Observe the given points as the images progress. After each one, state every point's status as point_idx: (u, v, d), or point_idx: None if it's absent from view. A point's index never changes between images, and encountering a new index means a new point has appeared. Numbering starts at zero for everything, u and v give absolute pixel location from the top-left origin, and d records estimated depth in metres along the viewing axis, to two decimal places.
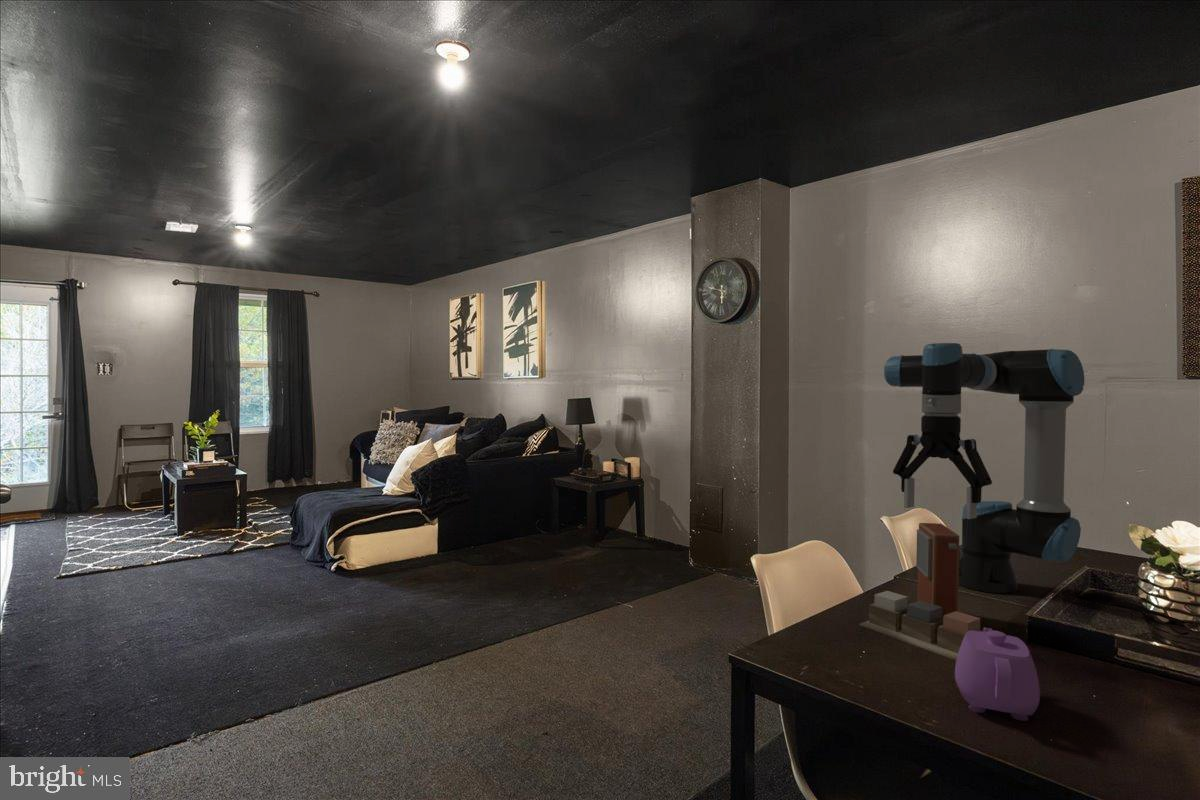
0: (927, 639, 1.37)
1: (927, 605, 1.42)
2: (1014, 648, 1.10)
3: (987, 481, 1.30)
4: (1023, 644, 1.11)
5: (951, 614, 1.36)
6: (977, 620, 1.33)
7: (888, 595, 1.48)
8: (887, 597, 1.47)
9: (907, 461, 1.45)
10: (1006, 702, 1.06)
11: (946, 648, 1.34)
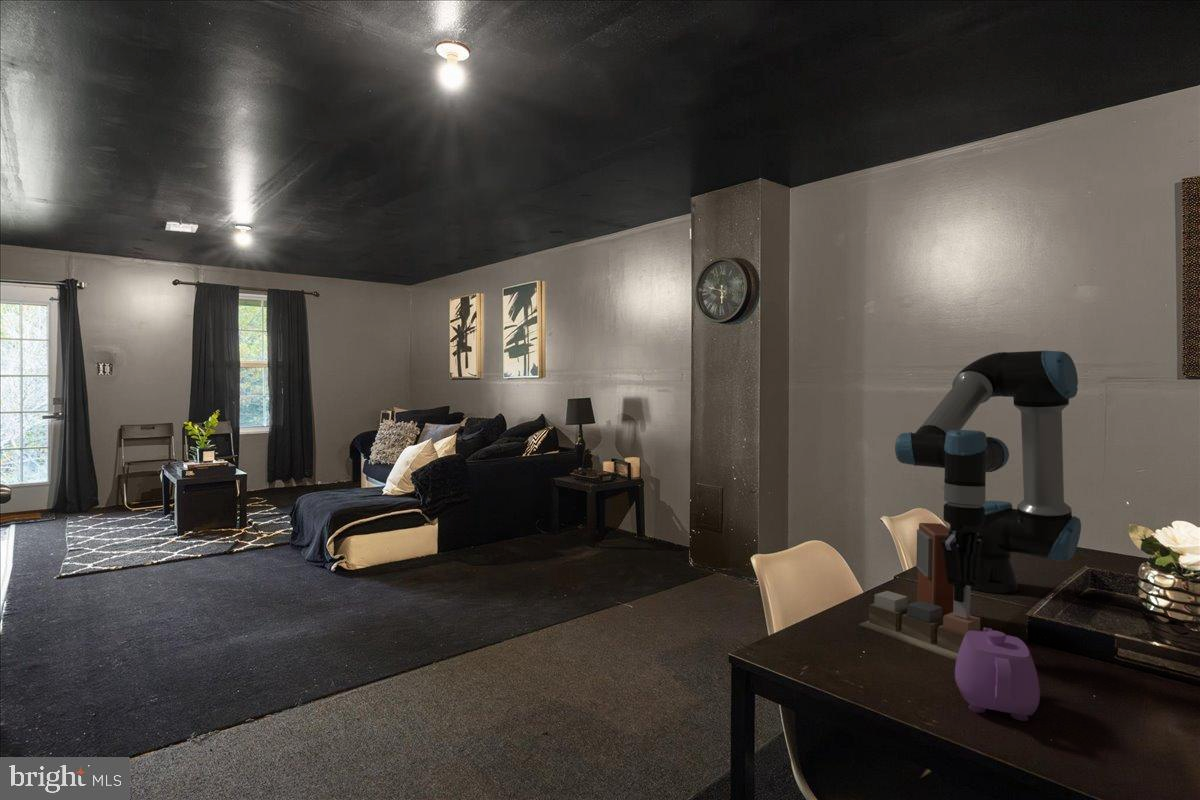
0: (927, 639, 1.37)
1: (927, 605, 1.42)
2: (1014, 648, 1.10)
3: (951, 579, 1.33)
4: (1023, 644, 1.11)
5: (951, 614, 1.36)
6: (977, 620, 1.33)
7: (888, 595, 1.48)
8: (887, 597, 1.47)
9: None
10: (1006, 702, 1.06)
11: (946, 648, 1.34)
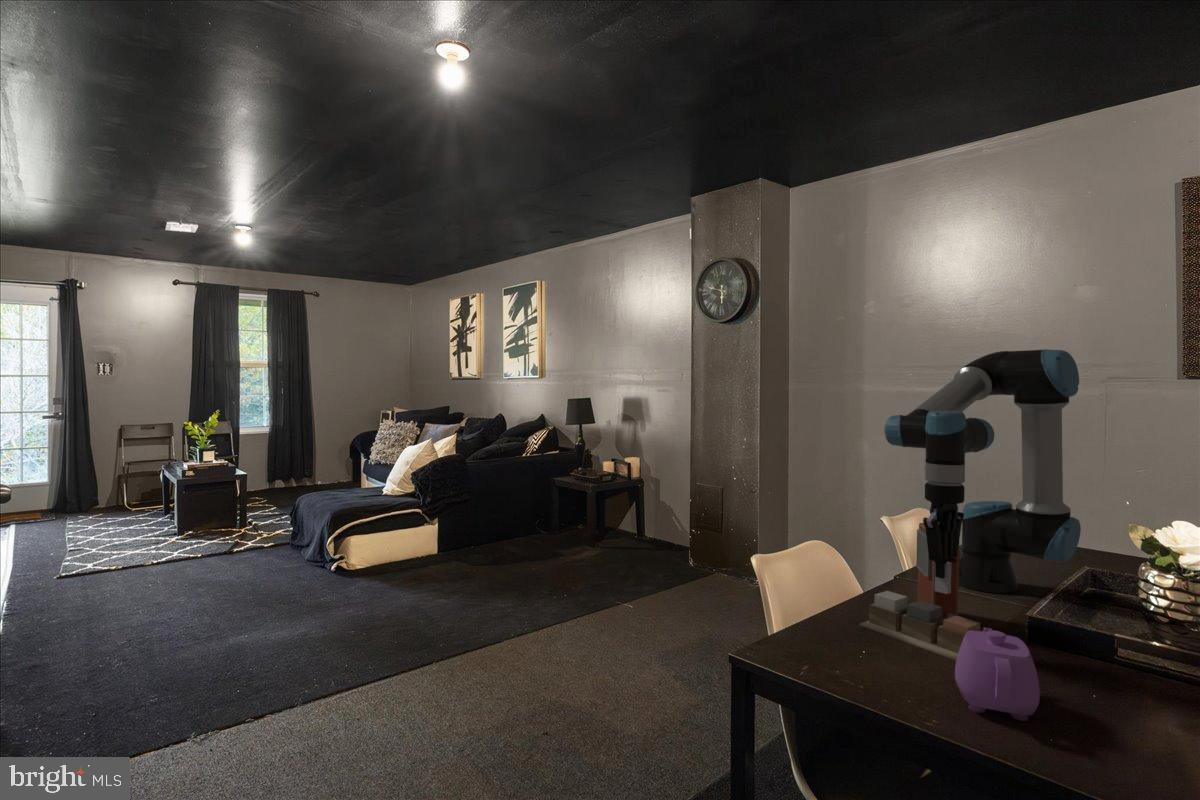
0: (927, 639, 1.37)
1: (927, 605, 1.42)
2: (1014, 648, 1.10)
3: (932, 556, 1.36)
4: (1023, 644, 1.11)
5: (951, 618, 1.36)
6: (977, 625, 1.33)
7: (888, 595, 1.48)
8: (887, 597, 1.47)
9: None
10: (1006, 702, 1.06)
11: (946, 648, 1.34)
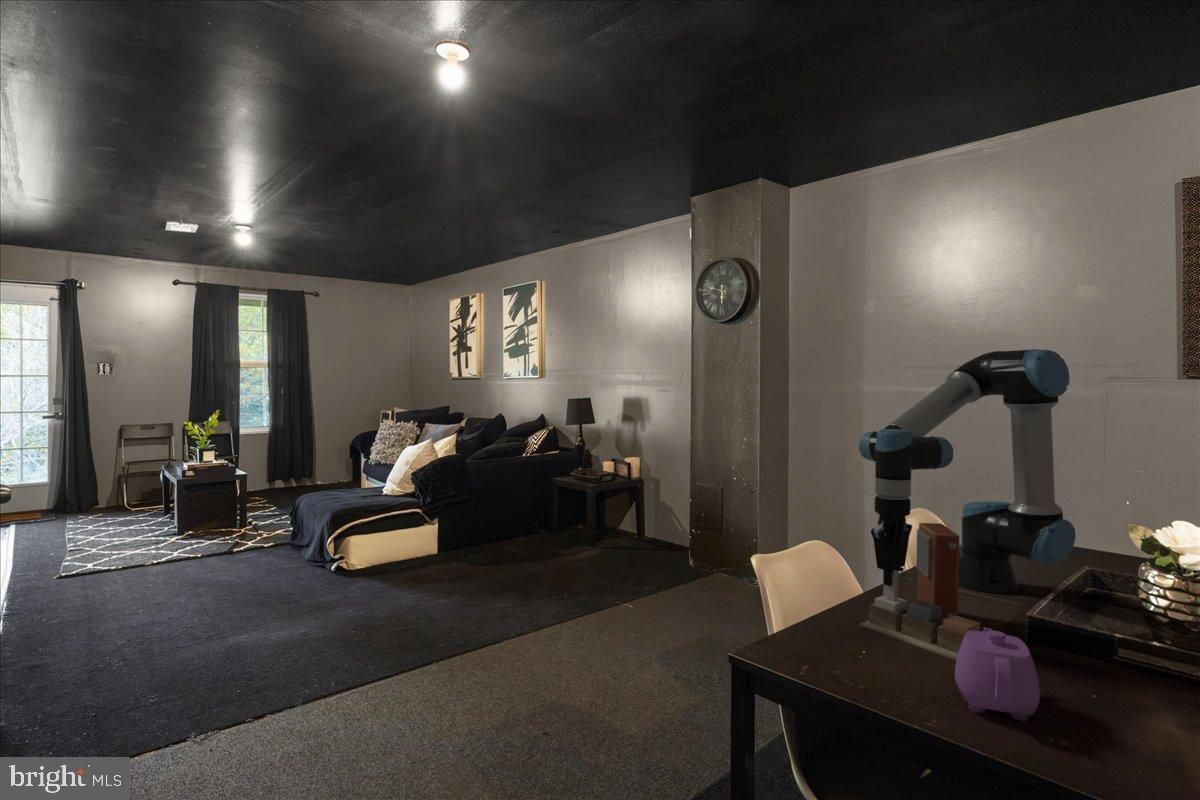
0: (927, 639, 1.37)
1: (927, 605, 1.42)
2: (1014, 648, 1.10)
3: (880, 565, 1.46)
4: (1023, 644, 1.11)
5: (951, 618, 1.36)
6: (977, 625, 1.33)
7: (888, 599, 1.48)
8: (887, 601, 1.47)
9: (900, 549, 1.49)
10: (1006, 702, 1.06)
11: (946, 648, 1.34)
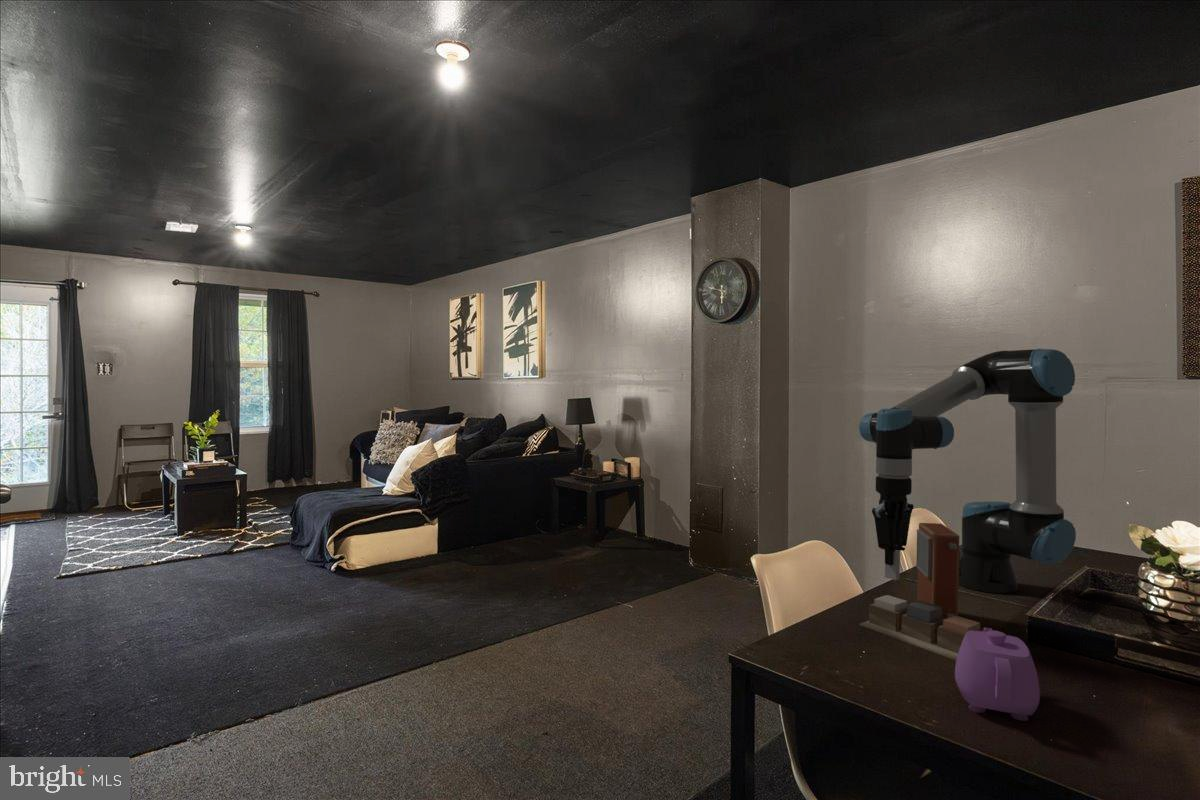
0: (927, 639, 1.37)
1: (927, 605, 1.42)
2: (1014, 648, 1.10)
3: (881, 544, 1.46)
4: (1023, 644, 1.11)
5: (951, 618, 1.36)
6: (977, 625, 1.33)
7: (888, 599, 1.48)
8: (887, 601, 1.47)
9: (902, 529, 1.49)
10: (1006, 702, 1.06)
11: (946, 648, 1.34)
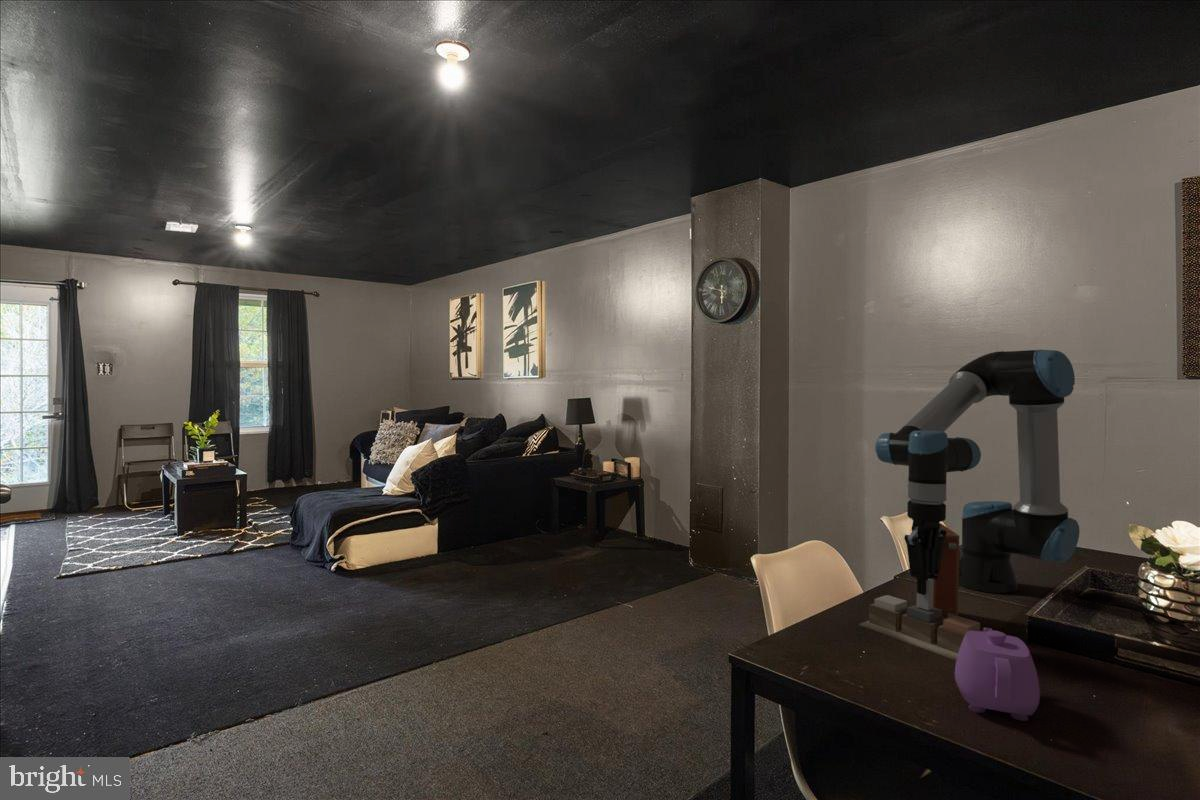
0: (927, 639, 1.37)
1: None
2: (1014, 648, 1.10)
3: (913, 573, 1.39)
4: (1023, 644, 1.11)
5: (951, 618, 1.36)
6: (977, 625, 1.33)
7: (888, 599, 1.48)
8: (887, 601, 1.47)
9: (934, 556, 1.42)
10: (1006, 702, 1.06)
11: (946, 648, 1.34)
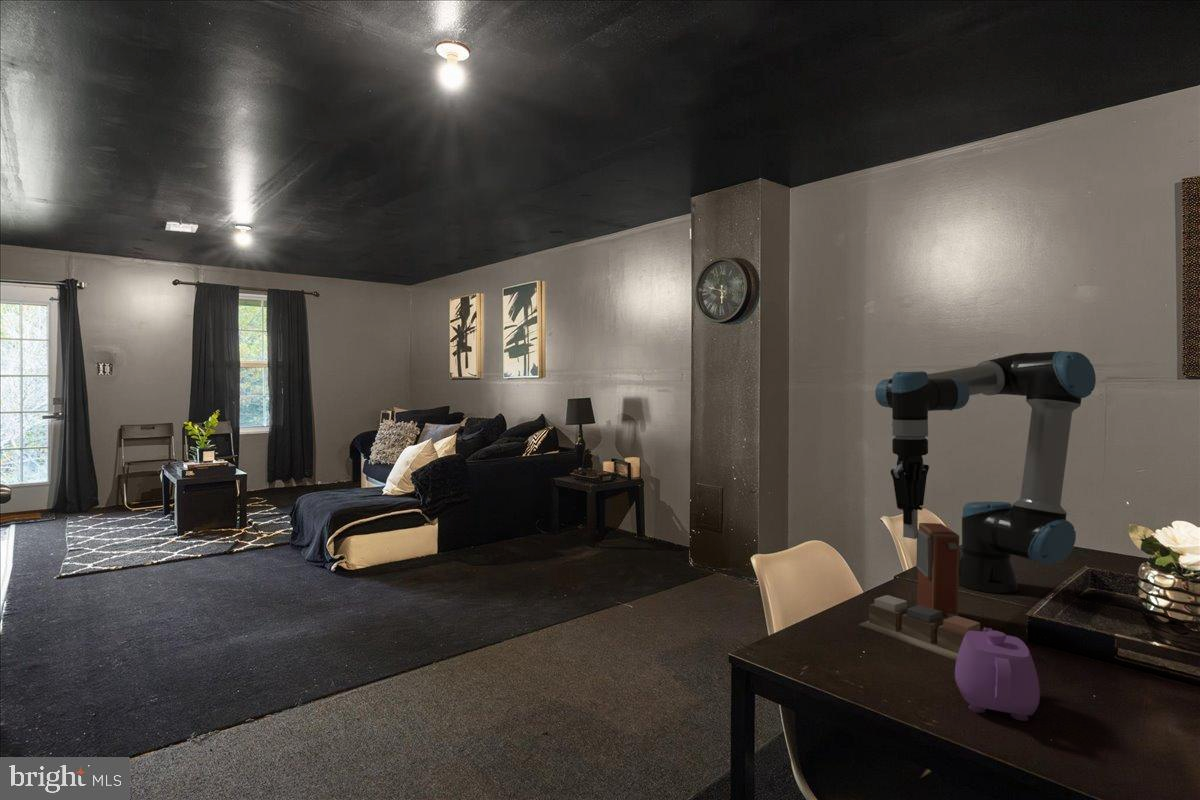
0: (927, 639, 1.37)
1: (927, 609, 1.42)
2: (1014, 648, 1.10)
3: (900, 505, 1.49)
4: (1023, 644, 1.11)
5: (951, 618, 1.36)
6: (977, 625, 1.33)
7: (888, 599, 1.48)
8: (887, 601, 1.47)
9: (918, 489, 1.52)
10: (1006, 702, 1.06)
11: (946, 648, 1.34)
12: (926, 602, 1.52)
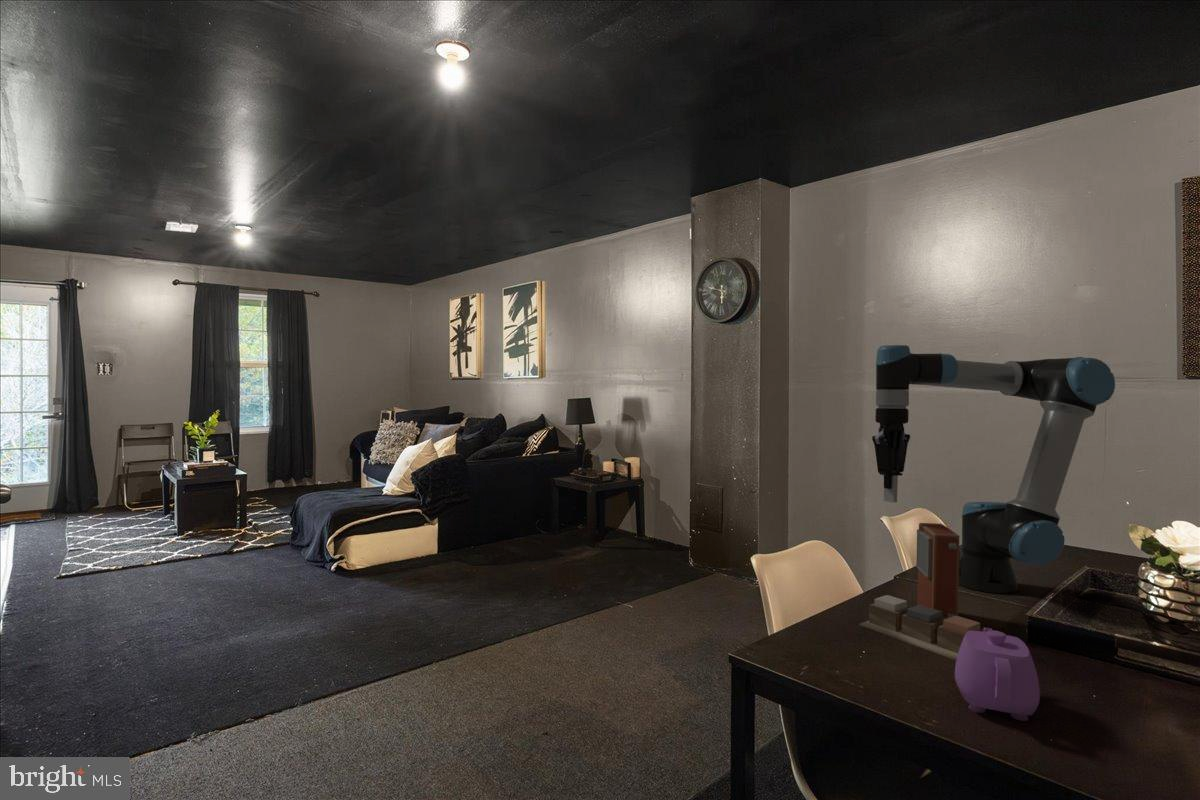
0: (927, 639, 1.37)
1: (927, 609, 1.42)
2: (1014, 648, 1.10)
3: (880, 469, 1.59)
4: (1023, 644, 1.11)
5: (951, 618, 1.36)
6: (977, 625, 1.33)
7: (888, 599, 1.48)
8: (887, 601, 1.47)
9: (899, 456, 1.62)
10: (1006, 702, 1.06)
11: (946, 648, 1.34)
12: (926, 602, 1.52)
